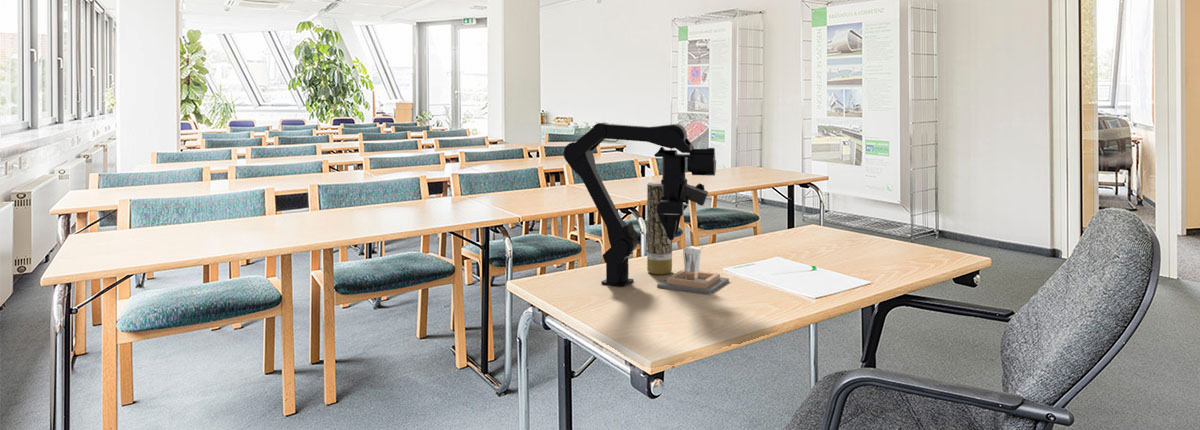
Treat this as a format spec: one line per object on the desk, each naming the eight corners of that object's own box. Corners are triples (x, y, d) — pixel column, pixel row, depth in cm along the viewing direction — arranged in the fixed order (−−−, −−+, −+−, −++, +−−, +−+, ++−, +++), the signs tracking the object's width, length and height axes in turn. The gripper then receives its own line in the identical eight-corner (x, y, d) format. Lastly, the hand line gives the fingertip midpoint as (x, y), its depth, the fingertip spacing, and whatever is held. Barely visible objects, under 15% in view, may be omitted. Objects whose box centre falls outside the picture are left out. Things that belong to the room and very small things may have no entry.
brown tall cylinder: (670, 275, 191) (671, 184, 187) (645, 274, 192) (645, 183, 188) (673, 269, 197) (673, 181, 193) (648, 268, 199) (649, 180, 194)
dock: (708, 294, 173) (709, 285, 173) (657, 287, 180) (657, 278, 180) (728, 281, 185) (728, 273, 184) (679, 274, 192) (679, 267, 191)
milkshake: (704, 283, 180) (705, 245, 178) (683, 283, 180) (683, 245, 178) (702, 278, 184) (703, 241, 183) (682, 278, 185) (682, 241, 183)
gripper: (703, 179, 165) (702, 245, 168) (708, 171, 183) (707, 230, 186) (656, 179, 168) (656, 243, 170) (666, 170, 186) (665, 229, 188)
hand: (673, 236), depth 179 cm, fingers open, 9 cm apart
